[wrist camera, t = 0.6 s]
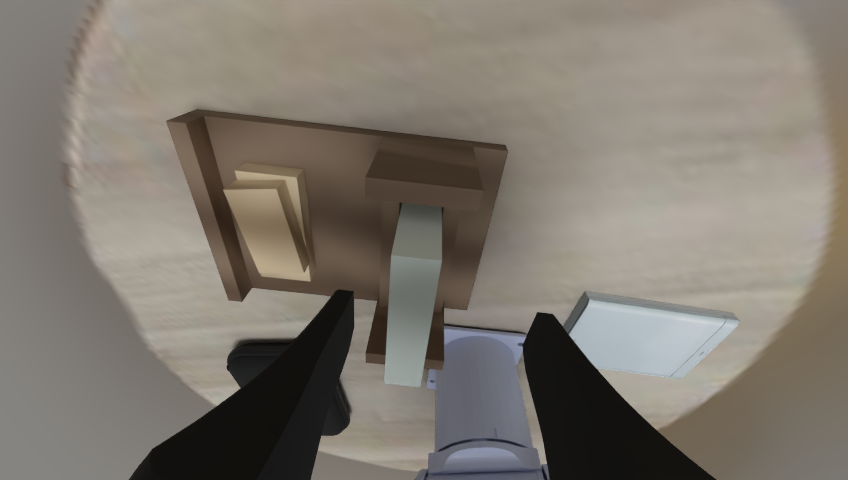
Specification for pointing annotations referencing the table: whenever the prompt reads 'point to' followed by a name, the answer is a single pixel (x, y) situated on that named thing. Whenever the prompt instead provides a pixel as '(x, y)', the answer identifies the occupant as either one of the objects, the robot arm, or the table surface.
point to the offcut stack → (274, 219)
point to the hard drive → (645, 334)
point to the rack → (346, 205)
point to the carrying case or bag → (258, 356)
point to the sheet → (412, 292)
